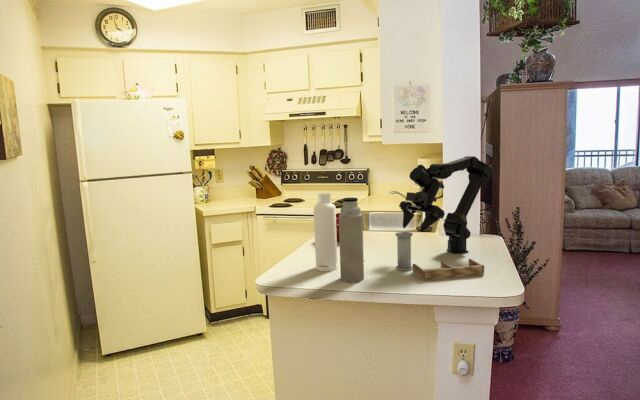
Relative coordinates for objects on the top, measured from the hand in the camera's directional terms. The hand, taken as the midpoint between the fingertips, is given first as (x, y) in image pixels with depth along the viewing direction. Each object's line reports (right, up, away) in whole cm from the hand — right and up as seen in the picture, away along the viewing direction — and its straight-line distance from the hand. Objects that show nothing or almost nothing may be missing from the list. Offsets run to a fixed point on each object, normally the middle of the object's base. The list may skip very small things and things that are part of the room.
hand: (412, 229), depth 166 cm
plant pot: (-23, -8, +44) cm, 50 cm away
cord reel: (-4, -14, -5) cm, 15 cm away
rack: (+10, -14, -13) cm, 22 cm away
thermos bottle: (-24, -16, -15) cm, 32 cm away
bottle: (-32, -15, -1) cm, 35 cm away
